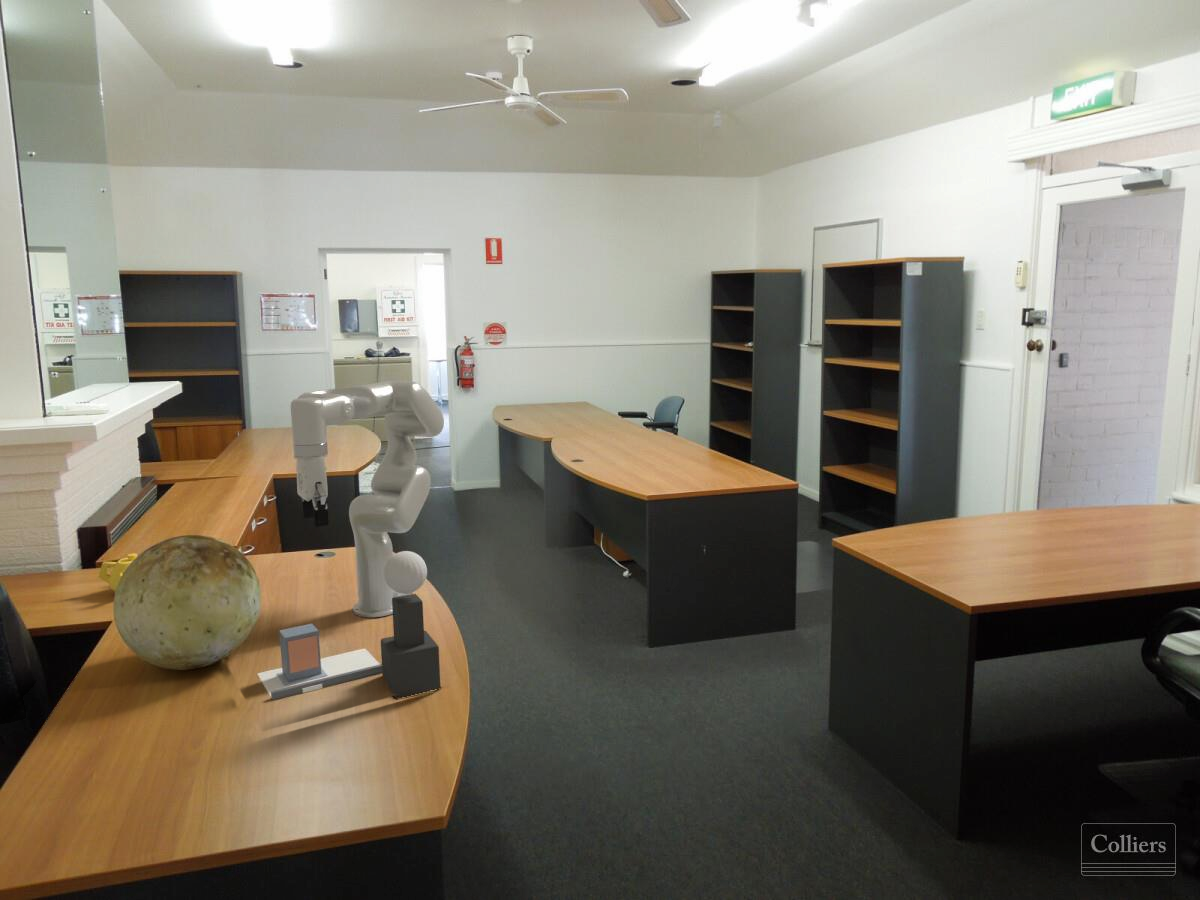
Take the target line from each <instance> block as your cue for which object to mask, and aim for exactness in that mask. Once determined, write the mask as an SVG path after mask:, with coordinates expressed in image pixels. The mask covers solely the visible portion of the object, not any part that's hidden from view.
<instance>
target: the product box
mask: <svg viewBox="0 0 1200 900" xmlns="http://www.w3.org/2000/svg"><path fill="white" fill-rule="evenodd" d="M319 633H320V631H319V629H318V628H317V627H316V626H315V625H314V623H308V624H303V625H299V626H294V627H289V628H284V629H281V630H279V633H278V635H279V643H280V645H279V647H280V657H281V668H282V672H283V675H284V676H285V678H286V679H287V681H288V682H291V681H295V680H299V679H303V678H307V677H311V676H316V675H320V674H322V673H321V646H320V634H319Z"/></svg>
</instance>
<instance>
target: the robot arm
mask: <svg viewBox="0 0 1200 900" xmlns="http://www.w3.org/2000/svg"><path fill="white" fill-rule="evenodd" d="M381 415H385V416H384V428H385V433H386V439H387V440H386V441H387V449H386V452H385V453H384V455H383V458H382V460H381V461H380V463H379V465H378V467H377V469H375V472H374V474H373V477H372V479H371V480H370V481H371V483H370V489H371V491H372V494H371V493H365V494H361V495H358V496H356V497H355V498H354V499H353V500H351V502H350V505H349V508H348V509H349V510H348V517H349V522H350V525H351V529H352V532H353V537H354V538H353V540H354V548H355V563H356V579H357V581H356V582H357V597H358V599H357V600H358V602H357V603H355V604H354V605H353V606H352V612H353V614H355V615H356V616H358V617H361V618H362V617H363V618H381V617H387V616H390V615H393V610H392V598H393V597H399V596H405V595H411V594H414V593H413V592H412V593H407V594H403V593H398V592H396V591H394V590H392V589H391V588H390V587H389V586H388V585H387V583H386V580H385V577H384V569H385V565H386V563H387V561H388V560H389V559H390V558H391V557H392V556H393V555H394V554H393V552H394V551H393V543H392V540H391V538H390V535H389V534H388V533H392V534H393V533H395V534H403V533H407V532H408V531H410V529H412V527H413V526H414V524H415V522H416V521H417V519H418V517H419V515H420V513H421V510H422V509H423V507H424V505H425V502H426V500H427V498H428V496H429V494H430V489H431V481H432V480H431V475H430V473H429V471H428V470H427V469H426V468H425V467H423V466H421V465H418V464H417V465H416V462H417V459H418V456H417V451H416V448H415V446H414V445H413V443H412V441H411V438H410V437H420V438H421V437H423V438H433V437H437V436H439V435H440V434H441V433H442V432H443V429H444V426H445V425H444V424H445V418H444V414H443V412H442V410H441V408H440V407H439V405H438V404H437V403H436V402H435V400H434V399H433V397H432V396H431V394H430V393H429V392H428V391H427V390H426V389H425V388H424V386H423V385H421V384H420V383H418V382H416V381H400V380H399V381H397V380H396V381H395V380H387V381H386V380H385V381H381V382H380V381H379V382H374V383H369V384H362V385H355V386H345V387H341V388H340V387H339V388H331V389H329V388H327V389H321V390H315V391H308V392H304V393H302V394H300V395H299V396H298V397H297V398H294V399H293V400H292V401H291V402H290V418H291V432H292V447H293V458H294V459H295V460H296V489H297V491H296V493H297V495H298V496H299V497H300V498H301V500H302V502H301V503H302V505H301V506H302V516H303V518H304V519H308V518H309V519H310V518H313V525H314V527H315V528H318V527H327V526H328V525H329V509H328V508H329V507H328V499H327V498H328V495H329V492H328V488H329V487H328V478H327V469H326V460H325V458H327V457H328V456H329V454H328V453H329V452H328V451H329V449H328V437H327V427H328V426H343V425H346V424H347V423H348V422H350V421H351V420H360V419H361V420H363V419H371V418H373V417H377V416H381Z"/></svg>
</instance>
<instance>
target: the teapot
mask: <svg viewBox="0 0 1200 900" xmlns="http://www.w3.org/2000/svg"><path fill="white" fill-rule="evenodd" d="M140 554H141V553H138V554H137V553H134V552H133V553H129V554H127V555H126V557H124V558H121V559H119V560H117V561H103V562H102V563H101V567H100V571H99V572H98V573H99V574H98V578H100V579H101V580H102V581H104V582H106V583H107V584H108V585H109V587H110V589H111V590H113V592H114V593H115V592H116V589H117V586H118V583H119V581H120V579H121V577H122V575H123V573H124V572H125V570H126V569H127V567H128V566H129V565H130V564H131V563H132V561H133V560H134V559H135V558H136V557H137V556H139V555H140ZM108 567H109V568H112V570H111V572H110V574H109V573H108Z"/></svg>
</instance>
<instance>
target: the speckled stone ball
mask: <svg viewBox="0 0 1200 900" xmlns="http://www.w3.org/2000/svg"><path fill="white" fill-rule="evenodd" d="M139 554H140V555H139ZM139 554H138V555H139V556H138V555H137V557H136V558H135V559H134V560H133V561H132V563H131V564H130V565H129V566H128V567H127V569H126V570H125V572H124V573H123V575H122V577H121V579H120V581H119V583H118V586H117V589H116V592H115V591H114V597H113V617H114V622H115V625H116V630H117V632H118V634H119V636H120V638H121V639H122V641H123V642H124V644H125V645H126V647H128V648H129V649H130V651H132V652H133V654H135V655H136V657H139V658H140V659H142V660H143V661H146V662H147V663H149V664H151V665H154V666H155V667H159V668H163V669H168V670H174V671H175V670H177V671H178V670H179V671H187V670H194V669H201V668H204V667H207V666H210V665H213V664H216V663H218V662H219V661H222V660H223V659H225V658H227V657H228V656H230V655H231V654H232V653H234V652H235V651H236V650H237V649H239V647H240V646H241V645H242V644H243V643H245V641H246V640H247V639H248V637H249V635H250V634H251V633H252V632H253V629H254V627H255V626H256V623H257V620H258V619H259V616H260V611H261V605H262V588H261V584H260V580H259V577H258V574H257V572H256V570H255V568H254V566H253V565H252V563H251V561H249V559H248V558H247V556H246V555H244V554H243V553H242V552H241V551H240V550H239V549H237V548H236V547H234V546H233V545H231V544H230V543H229V542H226V541H223V540H222V539H219V538H215V537H212V536H207V535H202V534H201V535H200V534H199V535H198V534H188V535H187V534H186V535H179V536H175V537H170V538H166V539H164V540H161V541H159V542H156V543H155V544H153V545H151V546H150V547H148V548H146V549H145V550H144V551H142V552H141V553H139Z"/></svg>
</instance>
